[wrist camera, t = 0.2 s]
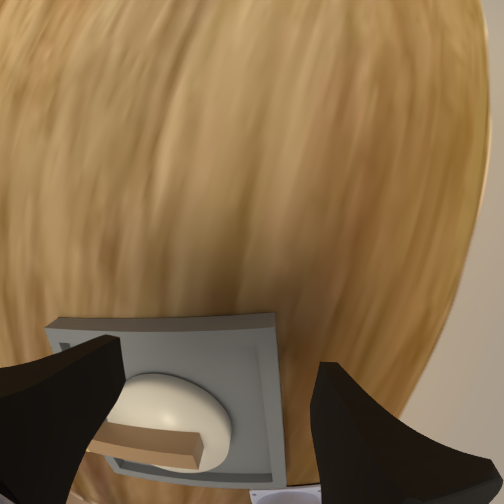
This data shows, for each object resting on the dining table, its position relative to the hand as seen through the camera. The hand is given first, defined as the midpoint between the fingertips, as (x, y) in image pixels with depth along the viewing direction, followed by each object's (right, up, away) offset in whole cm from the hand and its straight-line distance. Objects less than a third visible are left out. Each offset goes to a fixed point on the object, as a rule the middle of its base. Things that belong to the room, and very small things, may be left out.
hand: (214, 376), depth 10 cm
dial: (-7, -10, +12) cm, 17 cm away
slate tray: (-5, -9, +13) cm, 17 cm away
